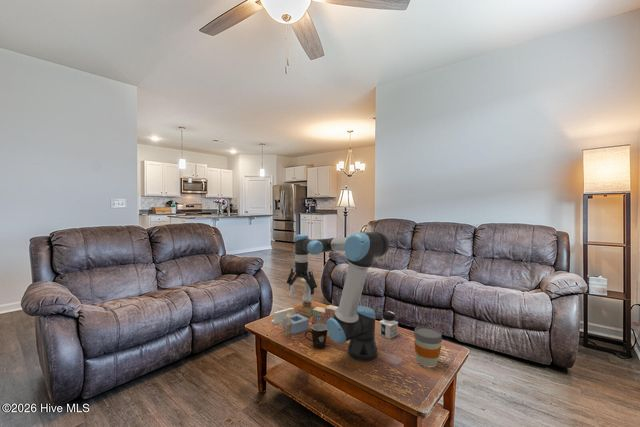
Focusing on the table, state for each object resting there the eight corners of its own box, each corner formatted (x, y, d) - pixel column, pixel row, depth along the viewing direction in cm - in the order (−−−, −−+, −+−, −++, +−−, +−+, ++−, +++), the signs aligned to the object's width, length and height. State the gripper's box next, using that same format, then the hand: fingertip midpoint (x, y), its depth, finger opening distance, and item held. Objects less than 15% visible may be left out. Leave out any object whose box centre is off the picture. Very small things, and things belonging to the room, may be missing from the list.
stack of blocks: (311, 324, 176) (312, 304, 175) (317, 320, 181) (317, 301, 180) (342, 332, 165) (343, 312, 164) (347, 328, 170) (347, 308, 169)
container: (389, 339, 158) (390, 316, 157) (378, 334, 164) (379, 312, 163) (397, 335, 163) (398, 313, 162) (386, 330, 169) (387, 309, 168)
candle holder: (309, 318, 184) (310, 282, 183) (295, 314, 190) (296, 279, 189) (317, 312, 194) (318, 278, 193) (304, 309, 199) (305, 275, 198)
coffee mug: (327, 342, 153) (328, 324, 152) (326, 350, 144) (327, 331, 144) (306, 340, 154) (307, 322, 154) (304, 348, 145) (304, 329, 145)
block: (308, 329, 168) (309, 319, 168) (293, 334, 161) (293, 324, 161) (298, 322, 176) (298, 313, 176) (283, 327, 169) (283, 317, 169)
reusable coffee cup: (408, 363, 135) (410, 332, 134) (418, 352, 144) (419, 323, 144) (435, 373, 127) (437, 341, 126) (444, 362, 136) (445, 331, 136)
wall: (294, 318, 182) (294, 308, 182) (275, 324, 173) (275, 313, 173) (289, 316, 186) (289, 305, 186) (271, 321, 177) (271, 310, 177)
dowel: (291, 336, 159) (292, 311, 158) (287, 337, 157) (287, 313, 156) (288, 334, 161) (289, 310, 161) (284, 335, 159) (284, 311, 159)
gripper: (323, 262, 159) (322, 300, 159) (288, 258, 172) (288, 292, 173) (316, 265, 152) (315, 303, 153) (280, 259, 166) (280, 295, 166)
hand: (301, 297), depth 163 cm, fingers open, 13 cm apart
